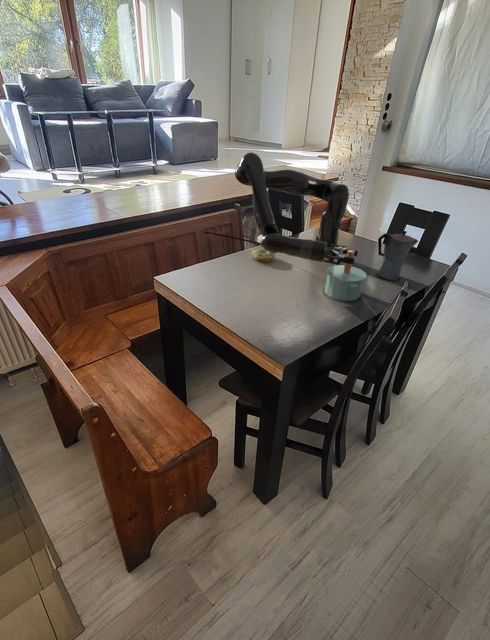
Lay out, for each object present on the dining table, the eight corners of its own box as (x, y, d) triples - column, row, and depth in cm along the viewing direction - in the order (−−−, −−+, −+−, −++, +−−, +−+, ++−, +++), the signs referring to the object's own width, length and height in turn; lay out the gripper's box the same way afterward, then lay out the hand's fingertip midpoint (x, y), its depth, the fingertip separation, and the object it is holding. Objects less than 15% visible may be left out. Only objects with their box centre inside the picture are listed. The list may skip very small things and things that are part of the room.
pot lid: (333, 284, 132) (338, 259, 126) (321, 268, 144) (325, 244, 138) (372, 283, 133) (379, 258, 127) (356, 267, 145) (362, 244, 139)
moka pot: (408, 282, 153) (424, 235, 141) (370, 279, 155) (383, 232, 143) (403, 273, 160) (418, 228, 149) (367, 270, 163) (379, 225, 151)
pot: (333, 305, 135) (337, 285, 130) (318, 283, 150) (321, 264, 145) (368, 304, 136) (373, 284, 131) (349, 283, 151) (354, 264, 146)
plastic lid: (251, 243, 189) (252, 238, 188) (267, 236, 198) (268, 232, 196) (273, 249, 182) (273, 244, 180) (288, 243, 190) (289, 238, 189)
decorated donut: (253, 263, 167) (254, 255, 164) (251, 255, 175) (251, 247, 173) (276, 263, 167) (276, 255, 165) (272, 254, 176) (272, 247, 174)
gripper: (315, 253, 146) (356, 260, 141) (306, 265, 136) (350, 273, 130) (318, 235, 142) (360, 241, 136) (309, 246, 131) (355, 253, 126)
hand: (355, 257), depth 133 cm, fingers open, 8 cm apart
